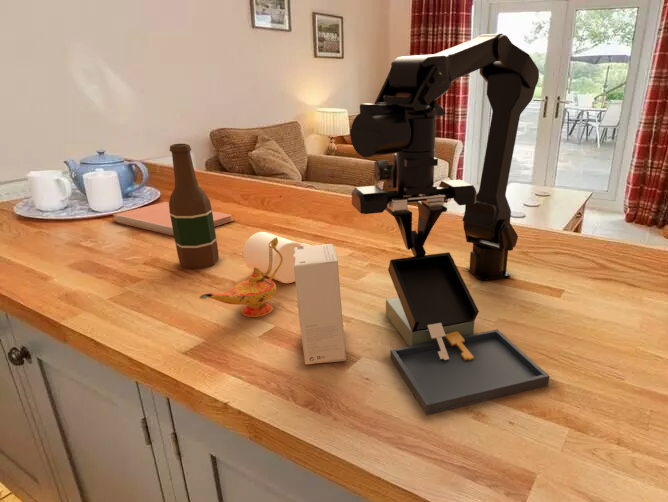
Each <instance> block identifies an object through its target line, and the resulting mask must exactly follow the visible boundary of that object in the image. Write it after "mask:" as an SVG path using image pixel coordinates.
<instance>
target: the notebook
mask: <svg viewBox="0 0 668 502" xmlns="http://www.w3.org/2000/svg"><path fill="white" fill-rule="evenodd" d="M212 214H213V221H214V227H218V226H221V225H224V224H227V223H230V222H233V221H235V219H233V218H232V217H234V214H230V213H226V212H219V211H214V210H212ZM112 216H113V221H115V222H116V223H118V224H123V225H126V226H131V227H135V228H138V229H139V228H140V229H143V230H147V231H152V232H155V233H160V234H164V235H167V236H173V237H174V233H173V228H172V222H171V217H170V210H169V201H164V202H159V203H155V204H151V205H146V206H143V207H138V208H135V209H131V210H127V211H123V212H119V213H113V214H112Z"/></svg>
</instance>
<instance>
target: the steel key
mask: <svg viewBox="0 0 668 502" xmlns="http://www.w3.org/2000/svg"><path fill="white" fill-rule="evenodd" d="M427 329H428V332H429V335H430V338H431V340H432V339H436V341H437V344H438V347H439V349H440V351H438V352H437V354H438V356H439V359H440V360H443V361H447V360H449V356H448V354H447V351H446V348H445V345H444V342H443V340H442V338H443V337H446V335H445V332H444V329H443V327H442V324H441V323H437V324H431V325H427Z"/></svg>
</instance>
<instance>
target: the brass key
mask: <svg viewBox="0 0 668 502" xmlns="http://www.w3.org/2000/svg"><path fill="white" fill-rule="evenodd" d="M445 335H446V337H445V338H446V339H447V340H448V342H449V343H450V344H451V345H452V346H453V345H457V346H458V348H459V349H460V350H461V351H462V353H461V356H462V357H463V359H464V360H469V361H470V360H473V359H474V357H473V355H472V354H471V353H470V352H469V351H468V349H467V348H466V347H465V346H464V344H463V342H465V340H464V338H463V337H462V336H461V335H460V334H459V332H458V331H455V332H452V333H448V334H445Z"/></svg>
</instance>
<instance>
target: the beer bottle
mask: <svg viewBox="0 0 668 502" xmlns="http://www.w3.org/2000/svg"><path fill="white" fill-rule="evenodd" d="M191 151H192V148H191V145H190V144H187V143H174V144H170V145H169V152H170V153H171V157H172V166H173V177H174V188H173V190H172V191H171V194H170V196H169V200H168V202H169V210H170V217H171V222H172V228H173V233H174V234H173V235H174V236H173V237H174V243H175V248H176V254H177V258H178V261H179V264H180V265H181V266H182V267H184V268H185V269H202V268H206V267H211V266H214V265H215V264H216V263H217V262H218V261H219V259H220V256H219V246H218V241H217V234H216V228H215V227H216V226H215V227H214V221H213V214H212V211H213V209H212V204H211V200H210V199H209V197H208V195H207V194H206V192H205V191H204V189H202V188H201V187H200V185H199V183H198V180H197V176H196V171H195V168H194V163H193V158H192V155H191Z"/></svg>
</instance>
